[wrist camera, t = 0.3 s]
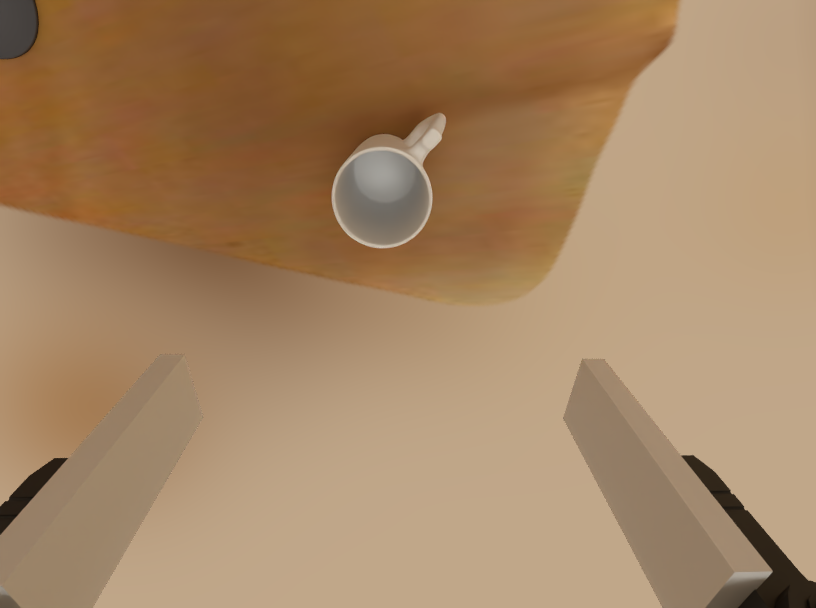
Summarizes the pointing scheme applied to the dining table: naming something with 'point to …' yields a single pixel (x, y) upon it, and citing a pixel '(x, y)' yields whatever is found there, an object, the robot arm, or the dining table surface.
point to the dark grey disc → (17, 27)
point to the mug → (387, 186)
